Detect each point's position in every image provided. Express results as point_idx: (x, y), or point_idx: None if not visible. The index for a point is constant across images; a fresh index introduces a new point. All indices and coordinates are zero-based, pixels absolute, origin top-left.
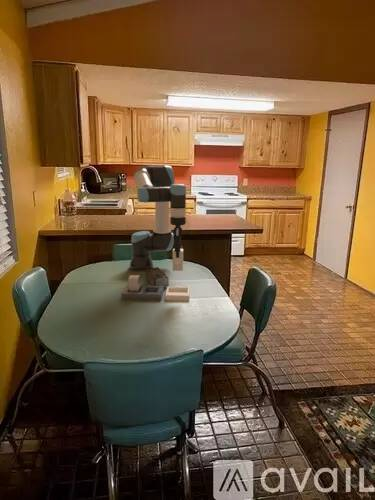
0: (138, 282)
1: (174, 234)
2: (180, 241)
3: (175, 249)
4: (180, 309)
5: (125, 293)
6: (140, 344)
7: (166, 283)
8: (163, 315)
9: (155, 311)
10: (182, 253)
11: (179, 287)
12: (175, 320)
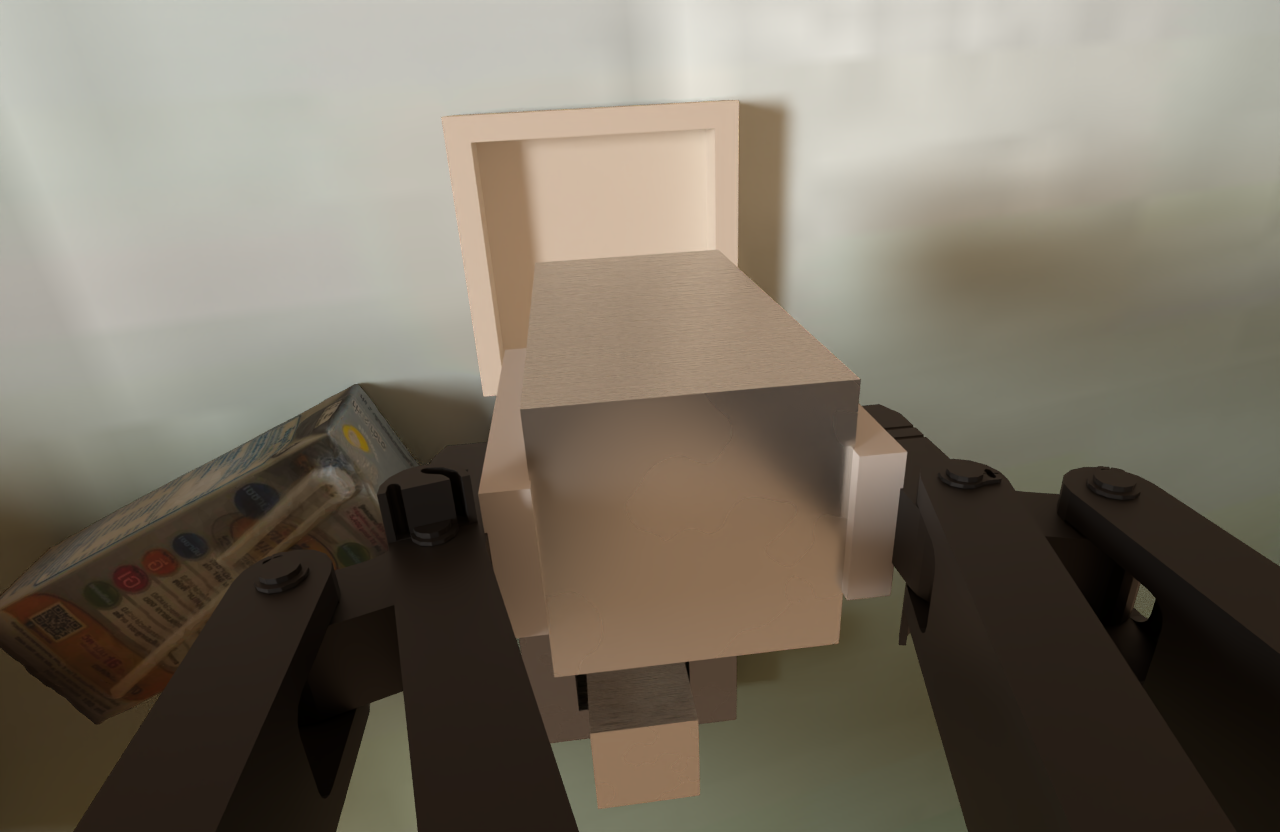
0: (680, 684)
1: None
2: (527, 683)
3: (1139, 620)
4: (942, 179)
5: (727, 696)
6: None
7: (365, 421)
8: (1045, 318)
9: (962, 396)
10: (834, 364)
11: (486, 252)
12: (1154, 201)
